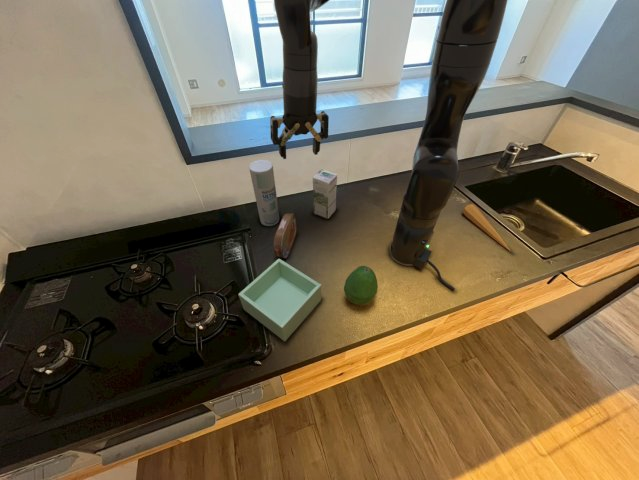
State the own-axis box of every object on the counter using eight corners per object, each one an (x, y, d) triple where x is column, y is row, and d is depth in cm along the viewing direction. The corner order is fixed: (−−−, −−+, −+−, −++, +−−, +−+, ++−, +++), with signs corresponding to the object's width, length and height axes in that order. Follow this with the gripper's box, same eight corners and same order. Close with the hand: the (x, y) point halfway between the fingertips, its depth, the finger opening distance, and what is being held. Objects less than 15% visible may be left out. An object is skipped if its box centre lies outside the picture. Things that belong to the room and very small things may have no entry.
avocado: (372, 315, 67) (379, 286, 59) (340, 307, 69) (343, 278, 60) (376, 289, 72) (384, 258, 64) (346, 282, 74) (350, 251, 65)
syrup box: (336, 210, 95) (338, 173, 85) (327, 220, 91) (328, 182, 81) (321, 204, 97) (321, 168, 87) (312, 214, 94) (311, 177, 83)
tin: (284, 264, 78) (282, 243, 72) (274, 262, 79) (270, 241, 73) (298, 228, 89) (296, 207, 83) (288, 227, 89) (286, 206, 83)
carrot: (459, 214, 95) (460, 206, 91) (471, 207, 94) (473, 199, 91) (503, 259, 83) (506, 252, 79) (517, 252, 83) (521, 245, 79)
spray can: (266, 229, 88) (256, 174, 74) (256, 218, 92) (244, 164, 78) (283, 220, 91) (277, 166, 77) (272, 211, 95) (264, 157, 81)
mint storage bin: (321, 300, 70) (321, 284, 65) (284, 341, 63) (282, 327, 58) (281, 274, 76) (278, 258, 71) (243, 309, 68) (237, 294, 64)
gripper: (272, 98, 57) (276, 167, 69) (336, 93, 61) (330, 159, 73) (264, 85, 62) (269, 151, 74) (324, 81, 66) (320, 145, 77)
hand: (299, 155), depth 73 cm, fingers open, 8 cm apart
